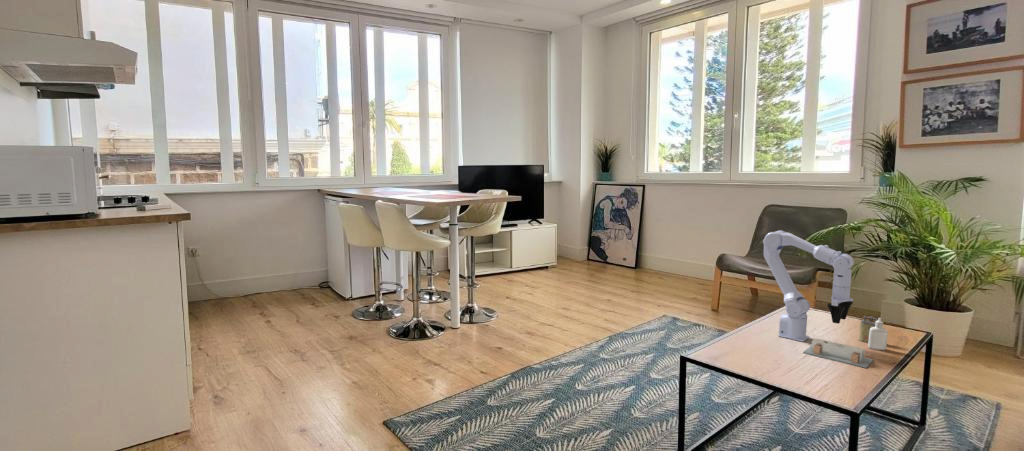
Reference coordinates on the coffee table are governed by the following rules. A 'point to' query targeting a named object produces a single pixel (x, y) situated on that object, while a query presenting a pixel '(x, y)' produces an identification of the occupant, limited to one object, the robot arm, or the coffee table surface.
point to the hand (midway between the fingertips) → (839, 320)
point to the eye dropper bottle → (878, 336)
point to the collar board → (853, 361)
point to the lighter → (866, 328)
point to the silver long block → (838, 349)
